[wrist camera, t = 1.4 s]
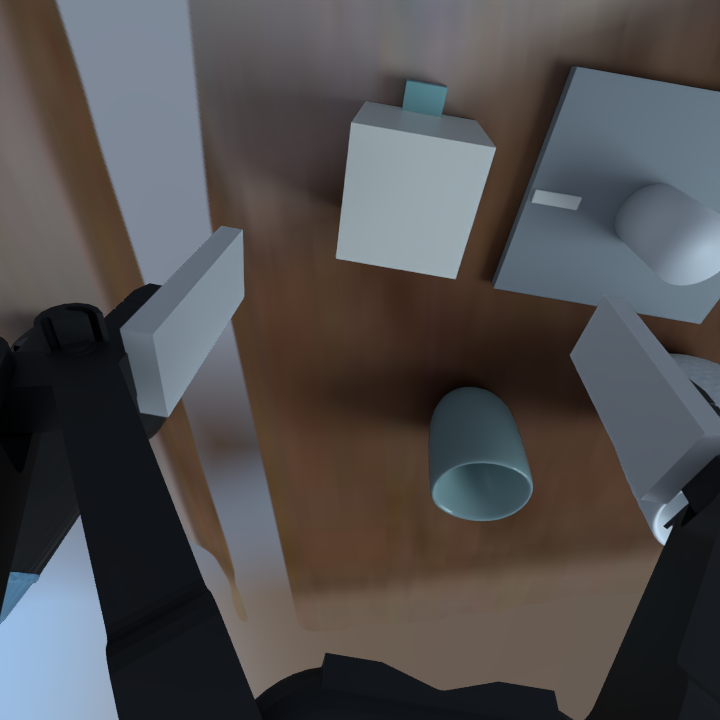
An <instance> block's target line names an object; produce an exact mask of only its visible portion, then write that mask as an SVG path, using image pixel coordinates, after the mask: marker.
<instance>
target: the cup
mask: <svg viewBox="0 0 720 720" xmlns="http://www.w3.org/2000/svg"><path fill="white" fill-rule="evenodd" d="M428 453H429V480H430V492H431V496H432V499H433V501H434V503H435V504H436V505H437V506H438V507H439V508H440V509H442V510H443V511H445V512H447V513H449V514H451V515H453V516H456V517H459V518H463V519H468V520H475V521H490V520H497V519H501V518H504V517H507V516H509V515H512V514H513V513H515V512H517V511H518V510H520V509H521V508H522V507H523V506H524V505H525V504H526V503H527V502H528V500H529V498H530V496H531V494H532V490H533V482H532V477H531V472H530V468H529V464H528V460H527V456H526V453H525V449H524V445H523V442H522V439H521V435H520V432H519V429H518V426H517V424H516V421H515V419H514V417H513V415H512V413H511V412H510V410H509V408H508V407H507V405H506V404H505V403H504V401H503V400H502V399H501V398H499V397H498V396H497V395H495V394H494V393H492V392H490V391H488V390H485V389H482V388H477V387H461V388H457V389H455V390H452V391H451V392H449V393H447V394H446V395H445V396H444V397H443V398H442V399H441V400H440V401H439V403H438V404H437V406H436V408H435V410H434V412H433V414H432V418H431V423H430V429H429V443H428Z"/></svg>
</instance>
